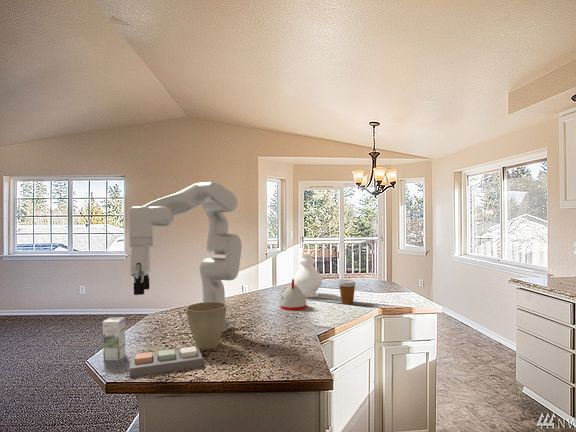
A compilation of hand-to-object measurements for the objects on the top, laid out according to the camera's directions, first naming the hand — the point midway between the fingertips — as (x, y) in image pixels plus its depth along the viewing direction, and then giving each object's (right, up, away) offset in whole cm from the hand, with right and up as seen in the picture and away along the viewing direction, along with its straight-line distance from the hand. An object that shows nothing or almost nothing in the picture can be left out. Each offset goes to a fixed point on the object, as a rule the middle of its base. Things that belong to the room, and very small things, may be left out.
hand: (141, 291), depth 133 cm
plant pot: (+20, -24, +13) cm, 34 cm away
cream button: (+17, -21, -3) cm, 27 cm away
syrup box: (-10, -25, +2) cm, 27 cm away
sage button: (+10, -21, -6) cm, 24 cm away
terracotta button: (+4, -22, -8) cm, 23 cm away
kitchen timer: (+53, -23, +75) cm, 95 cm away
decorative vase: (+63, -23, +106) cm, 125 cm away
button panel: (+10, -24, -6) cm, 27 cm away
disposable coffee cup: (+84, -23, +82) cm, 119 cm away
